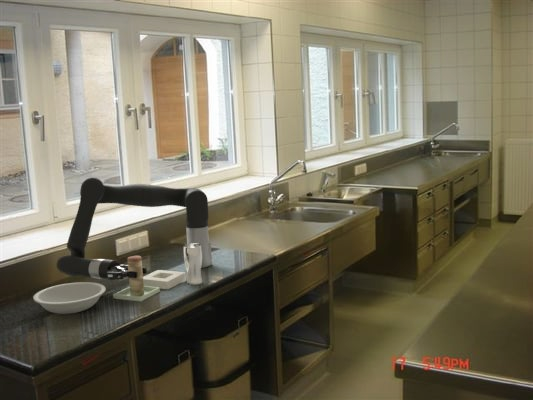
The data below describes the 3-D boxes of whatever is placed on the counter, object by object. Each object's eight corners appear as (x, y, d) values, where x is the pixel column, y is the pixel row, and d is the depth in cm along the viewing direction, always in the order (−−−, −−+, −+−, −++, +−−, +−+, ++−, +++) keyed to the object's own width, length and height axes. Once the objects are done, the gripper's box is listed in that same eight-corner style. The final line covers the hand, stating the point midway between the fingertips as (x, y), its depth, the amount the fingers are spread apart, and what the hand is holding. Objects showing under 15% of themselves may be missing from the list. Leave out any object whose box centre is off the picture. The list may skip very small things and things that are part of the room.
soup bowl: (37, 327, 203) (35, 308, 202) (33, 306, 225) (31, 288, 223) (112, 314, 212) (111, 295, 211) (101, 295, 234) (99, 278, 233)
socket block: (158, 278, 253) (158, 269, 253) (186, 280, 248) (185, 272, 247) (139, 287, 242) (138, 278, 241) (168, 290, 236) (167, 281, 236)
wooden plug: (140, 291, 234) (137, 255, 232) (146, 294, 230) (143, 257, 228) (128, 294, 232) (125, 257, 229) (133, 297, 228) (130, 260, 225)
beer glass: (189, 286, 240) (186, 248, 238) (183, 282, 246) (180, 244, 244) (206, 283, 243) (203, 245, 241) (199, 279, 249) (197, 242, 247)
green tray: (133, 289, 239) (133, 284, 239) (160, 292, 234) (159, 287, 234) (113, 299, 228) (113, 294, 228) (140, 302, 223) (140, 297, 223)
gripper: (90, 264, 229) (128, 268, 221) (115, 254, 241) (152, 257, 234) (92, 284, 230) (130, 288, 223) (117, 273, 243) (153, 277, 236)
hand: (141, 272), depth 229 cm, fingers closed on wooden plug, 5 cm apart
